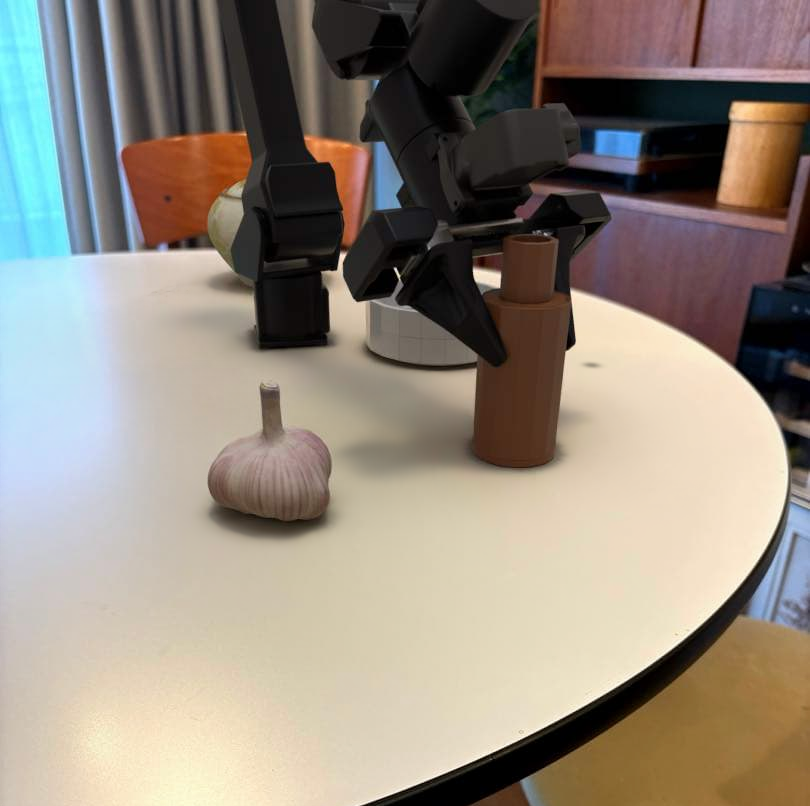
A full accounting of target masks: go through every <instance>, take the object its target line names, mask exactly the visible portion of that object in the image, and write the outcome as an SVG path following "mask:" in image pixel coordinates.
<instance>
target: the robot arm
mask: <svg viewBox="0 0 810 806" xmlns="http://www.w3.org/2000/svg"><path fill="white" fill-rule="evenodd" d="M216 2H217V7H218V12H219V16H220V21H221V26H222V31H223V34H224V39H225V40H224V41H225V44H226V48H227V54H228V57H229V62H230V66H231V72H232V76H233V80H234V85H235V89H236V95H237V99H238V103H239V107H240V113H241V117H242V121H243V126H244V131H245V135H246V140H247V145H248V150H249V154H250V160H251V163H250V166H249V169H248V172H247V176H246V179H245V180H246V181H245V185H244V188H243V191H242V194H241V199H242V205H243V212H244V215H243V217H242V220H241V223H240V225H239V228H238V230H237V233H236V235H235V238H234V241H233V243H232V246H231V248H230V252H231V256H232V261H233V265H234V270H235V272H236V273H237V274H240V275H242V276H244V277H247V278H249V279H251V280H252V282H253V287H252V295H253V307H254V317H255V318H254V319H255V324H254V325H253V331H254V335H255V338H256V341H257V344H258V347H259V348H276V347H279V348H280V347H293V346H294V347H295V346H296V347H297V346H310V345H311V346H312V345H325V344H328V343H329V337H328V335H327V334H328V333H330V332H331V319H330V317H331V315H330V291H329V288H328V287H327V286H326V284H325V283H323V272H337V271H338V270H339V262H340V258H341V251H342V245H343V239H344V233H345V225H346V223H345V218H344V215H343V211H344V207H343V204H342V202H341V200H340V195H339V192H338V187H337V178H336V171H335V169H334V167H333V166H332V164H331V162H329V161H318V160H317V158H316V157H315V156H314V154H312V153H311V152H310V150H309V149H308V147H307V143H306V139H305V135H304V134H305V133H304V129H303V125H302V119H301V115H300V109H299V105H298V100H297V96H296V90H295V84H294V80H293V75H292V70H291V66H290V65H291V64H290V60H289V54H288V51H287V46H286V42H285V36H284V31H283V26H282V21H281V17H280V11H279V6H278V2H277V0H216ZM539 3H540V0H314V7H313V12H312V18H311V19H312V20H311V28H312V32H313V33H314V36H315V38H316V40H317V42H318V45H319V47H320V49H321V52H322V55H323V57H324V60H325V61H326V64H327V65H328V67H329V69H330V71H331V72H332V73H333V75H334V76H335V77H336V78H338V79H339V80H341V81H378V82H377V84H376V87H375V88H374V90H373V91H372V94H371V97H370V98H369V99H368V98H367V99H366V101H365V104H364V105H365V107H364V108H365V109H364V114H363V117H362V119H361V122H360V124H359V135H358V136H359V137H358V138H359V140H360V142H361V143H363V144H366V143H368V144H369V143H384V144H385V147H386V149H387V150H388V153H389V155H390V157H391V159H392V161H393V163H394V165H395V167H396V170H397V172H398V174H399V176H400V178H401V181H402V184H401V186H400V187H399V189H398V191H397V192H396V194H395V196H396V199H397V202H398V203H399V205H400V207H396V208H395V207H393V208H385V209H374V210H371V212H369V214H368V217H367V218H366V220H365V222H364V224H363V225H362V227H361V228H360V230H359V232H358V233H357V236H356V237H355V239H354V240H353V242H352V244H351V246H350V247H349V249H348V251H347V253H346V255H345V256H344V258H343V261H342V278H343V280H344V283H345V284H346V287H347V289H348V291H349V293H350V296H351V297H352V299H353V300H354V301H355V302H356V303H362V302H366V301H369V300H375V299H381V298H387V297H391V296H392V294H393V293H394V291H395V289H396V287H397V284H398V282H399V280H401V282H402V284H403V287H402V288H401V290H400V291H399V292H398V294H397V295H396V297H395V301H396V302H397V304H398V305H399V306H410V307H412V308H413V309H415V310H416V311H418V312H419V313H421V314H422V315H424V316H425V317H427V318H428V319H430V320H431V321H433V322H435V323H436V324H438V325H439V326H441V327H442V328H444V329H445V330H446V331H448V332H449V333H450V334H452V335H453V336H454V337H456V338H457V339H458V340H460V341H461V342H462V343H463V344H465V345H466V346H467V347H469V348H470V349H471V350H472V351H474V352H475V353H476V354H478V355H479V356H480V357H481V358H483V359H484V360H485V361H487V362H488V363H489V364H490V365H492V366H493V367H500V366H501V365H502V364H503V363H504V362H505V361H506V360H507V355H506V352H505V349H504V346H503V343H502V340H501V337H500V335H499V332H498V330H497V328H496V326H495V324H494V321H493V319H492V317H491V315H490V312H489V310H488V308H487V306H486V304H485V301H484V299H483V297H482V295H481V292H480V290H479V288H478V286H477V284H476V282H477V281H476V279H475V276H474V258H475V259H476V258H482V257H490V256H497V255H502V253H503V239H504V238H505V237H507V236H509V235H517V234H537V235H545V236H551V237H554V238H556V239H558V240H559V242H558V252H557V262H556V272H555V283H554V291H558V292H562V293H564V294H566V295H568V296H569V297H571V298H572V294H571V293H572V291H571V278H570V277H571V273H570V272H571V271H570V269H571V268H570V267H571V266H570V265H571V263H572V261H573V260H574V259H575V258H576V257H577V256H578V255H579V254H580V253H581V252H582V251H583V250H584V249H585V248H586V246H588V245H589V244H590V243H591V242H592V241H593V240H594V238H596V236H597V235H598V234H599V233H600V232H602V230H604V228H606V226H607V225H608V224H609V223H610V222H611V221H612V214H611V212H610V210H609V208H608V207H607V205H606V202H605V201H604V199H603V197H602V194H601V193H600V192H599V191H594V190H588V189H582V190H571V191H561V192H550V193H549V194H548V195H547V196H546V198H545V199H544V200H543V201H542V202H541V204H540V205H539V206H538V207H537V208H536V210H535V211H533V213H532V214H531V216H529V218H523V217H517V214H516V210H517V208H519V207H522V206H525V205H526V203H527V202H528V201H529V200H530V199H531V198H532V196H533V195H534V191H533V189H532V187H531V186H530V184H531V183H533V182H536V181H537V180H540V179H541V178H543V177H544V176H546V175H548V174H550V173H552V172H554V171H557V172H560V171H563V170H564V169H566V168H567V167H569V165H570V159H571V158H573V157H576V156H577V155H578V154H579V152H580V149H581V145H582V139H581V127H580V125H579V124H578V121H577V120H576V119H575V117H574V116H573V114H572V113H571V111H570V109H568V107H567V105H566V103H564V102H563V103H561V102H560V103H544V104H543V105H542V106H541V107H540V108H539V107H538V108H537V107H536V108H513V109H508V110H505V111H502V112H499V113H497V114H496V115H494V116H492V117H491V118H490V119H488V120H486V121H485V122H483V123H481V124H480V125H479V126H478V127H475V125H474V123H473V121H472V118H471V116H470V115H469V113H468V110H467V108H466V106H465V105H464V102H463V100H462V99H461V96H463V97H475V96H479V95H481V94H483V93H484V92H486V91H487V90H488V88H489V86H490V85H491V83H492V82H493V80H494V78H495V77H496V75H497V74H498V73H499V71H500V69H501V67H502V66H503V65H504V63H505V61H506V60H507V58H508V57H509V55H510V54H511V52H512V51H513V49H514V47H515V46H516V44H517V42H518V41H519V39H520V38H521V36H522V35H523V33H524V31H525V30H526V29H527V27H528V25H529V23H530V22H531V21H532V19H533V17H534V16H535V14H536V12H537V10H538V9H539ZM395 269H396V270H395ZM396 271H397V272H396ZM235 272H234V273H235ZM236 273H235V274H236ZM397 273H398V274H397ZM237 274H236V275H237ZM398 275H399V276H398ZM475 281H476V282H475ZM574 319H575V318H574V310H573V301H572V299H571V308H570V317H569V326H568V336H567V345H566V352H568V351H570V350H571V349H572V348H573V347H575V346H576V342H577V338H576V329H575V328H576V327H575V320H574Z"/></svg>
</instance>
